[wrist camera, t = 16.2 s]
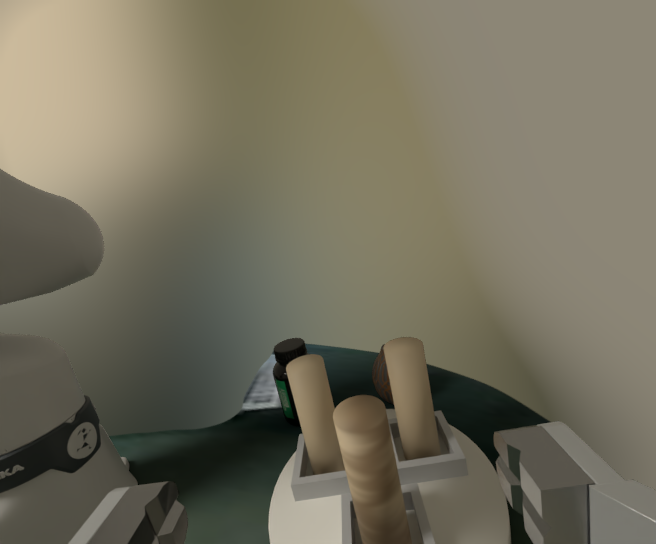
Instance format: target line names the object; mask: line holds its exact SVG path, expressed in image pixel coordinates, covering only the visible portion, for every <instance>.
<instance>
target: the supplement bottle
mask: <svg viewBox="0 0 656 544" xmlns="http://www.w3.org/2000/svg"><path fill="white" fill-rule="evenodd" d="M274 354H275V359H276V361H277V363H276V364H275V366H274V368H273V376H274V380H275V383H276V387H277V391H278V394H279V398H280V402H281V405H282V409H283V413H284V416H285V419H286V421H287V422H288V423H289V424H291V425H294V426H301V425H300V421H299V417H298V413H297V410H296V406H295V402H294V398H293V395H292V391H291V387H290V383H289V379H288V376H287V372H286V367H287V365H288V364H289V363H290V362H291V361H292V360H294V359H296V358H298V357H301V356H304V355H310V354H308V353H307V349H306V347H305V343H304V341H303V339H301V338H292V339H287V340H284V341H282V342H280V343H278V344H277V345H276V346H275V348H274Z"/></svg>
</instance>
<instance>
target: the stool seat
mask: <svg viewBox="0 0 656 544" xmlns="http://www.w3.org/2000/svg"><path fill="white" fill-rule="evenodd" d="M383 349H384V354H385V359H386V364H387V370H388V375H389V380H390V385H391V391H392V396H393V401H394V406H395V409H386V413H387V418H388V423H389V428H390V433H391V438H392V443H393V449H394V454H395V459H396V464H397V469H398V474H399V479H400V484H401V489H402V494H403V499H404V504H405V510H406V515H407V520H408V525H409V530H410V535H411V540H412V544H511V529H510V521H509V513H508V506H507V501H506V496H505V493H504V491H503V489H502V487H501V483H500V480H499V477H498V475H497V473H496V471H495V469H494V467H493V465H492V464H491V463H490V461H489V460H488V458H487V457H486V455H485V454H484V453H483V452H482V451H481V450H480V448H479V447H478V446H477V445H476V444H475V443H474V442H473V441H472V440H470V439H469V438H468V437H467V436H466V435H465V434H463V433H462V432H460V431H459V430H458V429H456V428H454V427H453V426H451V425H449V424H448V423H447V421H446V419H445V417H444V415H443V413H442V411H435V412H434V409H433V402H432V396H431V390H430V384H429V378H428V372H427V366H426V360H425V354H424V347H423V343H422V341H421V340H419V339H417V338H412V337H401V338H396V339H393V340H390V341H389V342H387V343H386V344H385V345H384V347H383ZM286 372H287V376H288V379H289V383H290V387H291V391H292V395H293V398H294V402H295V406H296V410H297V413H298V417H299V421H300V425H301V429H302V432H303V434H299V439H298V445H297V451H296V452H295V453H294V454H293V455H292V457H291V458H290V460H289V461H288V462H287V464H286V465H285V467H284V469H283V471H282V472H281V474H280V476H279V479H278V481H277V483H276V486H275V488H274V492H273V495H272V499H271V504H270V510H269V537H270V544H363V543H362V538H361V534H360V530H359V526H358V521H357V517H356V513H355V509H354V505H353V500H352V496H351V492H350V488H349V483H348V479H347V475H346V471H345V467H344V462H343V458H342V454H341V450H340V445H339V441H338V437H337V433H336V429H335V424H334V420H333V413H334V410H335V408H334V404H333V399H332V395H331V391H330V387H329V382H328V378H327V374H326V370H325V365H324V361H323V358H322V357H321V356H319V355H315V354H310V355H304V356H301V357H298V358H296V359H294V360H292V361H291V362H290V363H289V364H288V365H287V367H286Z"/></svg>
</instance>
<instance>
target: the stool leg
mask: <svg viewBox="0 0 656 544" xmlns="http://www.w3.org/2000/svg"><path fill="white" fill-rule="evenodd" d="M333 420H334V424H335V429H336V433H337V437H338V441H339V445H340V450H341V454H342V458H343V462H344V467H345V471H346V475H347V479H348V483H349V488H350V492H351V496H352V500H353V505H354V509H355V513H356V517H357V521H358V526H359V530H360V534H361V538H362V543H363V544H412V540H411V535H410V530H409V525H408V520H407V515H406V510H405V504H404V499H403V494H402V489H401V484H400V479H399V474H398V469H397V464H396V459H395V454H394V449H393V443H392V438H391V433H390V428H389V423H388V418H387V413H386V408H385V405H384V403H383V402H382V401H381V400H380V399H378V398H376V397H374V396H370V395H358V396H353V397H350V398H348V399H346V400H344V401H342V402H341V403H340V404H339V405H338V406H337V407H336V408H335V410H334V413H333Z"/></svg>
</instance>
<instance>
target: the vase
mask: <svg viewBox="0 0 656 544" xmlns="http://www.w3.org/2000/svg"><path fill="white" fill-rule="evenodd" d="M384 345H385V344H384ZM384 345H383V346H382V347H381V351H380V353H379V355H378V356H377V358H376V360H375V362H374V365H373V370H372V378H373V383H374V386H375V388H376V391H377V392H378V394H379V395H380V396H381V398H383V399H384V400H385V401H387V402H389V403H391V404H394V401H393V396H392V391H391V385H390V380H389V375H388V370H387V364H386V359H385V354H384V349H383V347H384Z"/></svg>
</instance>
